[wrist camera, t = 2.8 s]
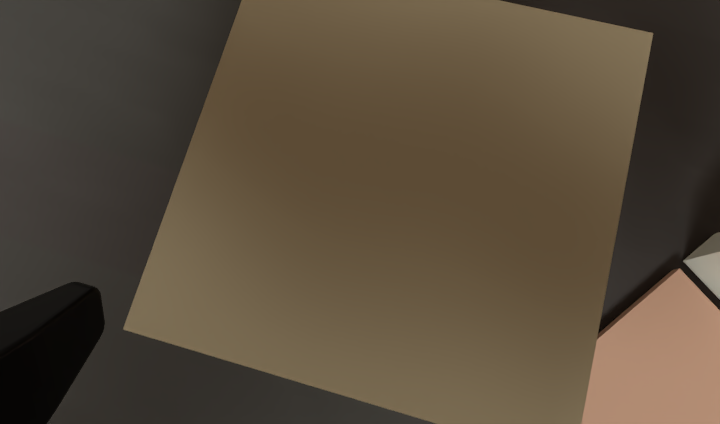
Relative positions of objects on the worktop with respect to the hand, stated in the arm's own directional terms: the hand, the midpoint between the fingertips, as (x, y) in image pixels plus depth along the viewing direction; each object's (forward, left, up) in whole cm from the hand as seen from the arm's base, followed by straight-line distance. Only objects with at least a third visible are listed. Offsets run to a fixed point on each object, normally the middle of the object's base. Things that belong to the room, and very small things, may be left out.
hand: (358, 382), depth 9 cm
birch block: (+2, -1, -10) cm, 10 cm away
